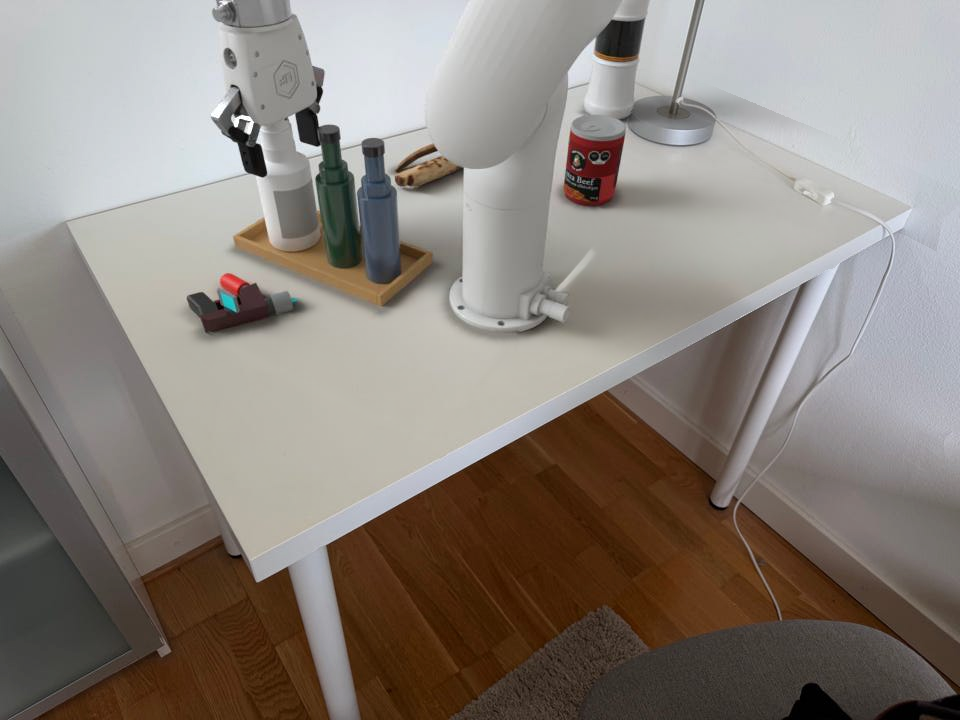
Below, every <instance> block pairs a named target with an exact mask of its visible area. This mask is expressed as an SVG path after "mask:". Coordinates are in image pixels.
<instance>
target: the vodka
mask: <svg viewBox="0 0 960 720" xmlns="http://www.w3.org/2000/svg"><path fill="white" fill-rule="evenodd" d="M650 1H651V0H622V2H621V4H620V6H619V8H618V10H617V11H616V13H615V15H614V16H613V18H612V19H611V21H610V22H609V24H608V25H607V26H606V27H605V28H604V29H603V31H602V32H601V33H600V34H599V35H598V36H597V37H596V38H595V39H594V40H595V41H594V47H593V54H592V55H591V59H592V62H591V71H590V76H589V80H588V86H587V89H586V93H585V95H584V99H583V108H584V111H585V112H586V113H587V115H605V116H610V117H613V118H616V119H618V120H620V121H621V120H623V119H626V118H629V116H631V114H632V113H633V111H632V112H631V110H632V108H633V109H634V107H633V106H635V87H636V86H635V84H636V77H637V76H636V75H637V70H638V65H639V63H640V52H641V47H642V41H643V35H644V30H645V24H646V18H647V16H648V13H649V11H648V9H649V6H650V3H651V2H650Z"/></svg>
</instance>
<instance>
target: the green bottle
mask: <svg viewBox="0 0 960 720" xmlns="http://www.w3.org/2000/svg"><path fill="white" fill-rule="evenodd" d="M317 131H318V139H319V141H320V143H321V145H320V149H321V151H320V152H321V156H322V157H321V158H322V160H321V162H319V163H318V173H317V174H316V175H315V177H314V181H315V188H316V189H315V190H316V194H317V202H318V207H319V208H318V209H319V211H320V215H321V222H322V229H323V236H324V242H325V249H326V256H327V261H328V263H329V264H330V265H331V266H333V267H336V268H350V267H354V266H356V265H358V264H359V263H360V262H361V261H362V258H363V256H362V246H361V237H360V228H359V226H360V217H359V208H358V199H357V191H356V190H357V189H356V182H355V176H354V173H353V172H352V171H350V170H349V164H348V162H347V161H346V160H345V159H343V158H342V150H341V139H342V138H341V136H342V135H341V130H340V126H338V125H336V124H322V125H319V128H318V129H317Z"/></svg>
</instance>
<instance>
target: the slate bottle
mask: <svg viewBox="0 0 960 720" xmlns="http://www.w3.org/2000/svg"><path fill="white" fill-rule="evenodd" d="M360 143H361V153H362V155H363V161H364V171H365V174H363V176H362V177H361V179H360V185H361V186H360V187H359V188H358V189H357V191H356V199H357V208H358V218H359V226H361V236H362V245H363V255H364V264H365V274H366V277H367V279H368V280H369V281H371V282H373V283H377V284H388V283H391V282H392V281H394V280H395V279H396V278H397V277H398V276H400V275H401V274H402V267H401V251H400V241H401V237H400V235H401V234H400V220H399V204H398V203H399V202H398V191H397V189H396V187H395V186H393V185H392V178H391V176H390V175H389V174H387V173H386V167H385V153H386V149H385V141H384V140H383V139H381V138H379V137H369V138H365V139H363V140H362V141H361V142H360Z"/></svg>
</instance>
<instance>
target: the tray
mask: <svg viewBox="0 0 960 720" xmlns="http://www.w3.org/2000/svg"><path fill="white" fill-rule="evenodd" d="M317 215H318V221H319V228H320V234H321V236H320V239H319V241H318V242H317V243H316V244H315V245H314V246H312V247H310V248H308V249H305V250H302V251H295V252H289V251H282V250H278V249H277V248H275V247H273V245H272V244H271V243H270V241H269V237H268V232H267V227H266V222H265V218H264V217H262V218H260V219H259V220H257V221H256V222H254V223H252V224H251V225H248V226H247V227H246V228H244V229H243V230H240V231H239V232H238V233H236V234H234V235H233V236H232V239H233V243H234V246H235V248H238V249H240V250H243V251H246V252H248V253H250V254H253V255H255V256H258V257H261V258H262V259H264V260H267V261H270V262H272V263H274V264H277V265H280V266H282V267H284V268H287V269H289V270H292V271H294V272H296V273H299V274H301V275H304V276H306V277H308V278H311V279H313V280H316V281H318V282H320V283H323V284H325V285H328V286H330V287H332V288H335V289H338V290H339V291H343V292H345V293H347V294H350V295H352V296H355V297H357V298H359V299H362V300H364V301H366V302H369V303H371V304H373V305H376V306H379V307H383V306H384V305H385V304H386V303H388V302H389V301H390V300H391V299H392V298H394V297H395V296H396V295H397V294H398V293H399V292H400V291H402V290H403V289H404V288H405V287H406V286H408V285H409V284H410V283H411V282H412V281H413V280H414V279H415V278H417V277H418V276H419V275H420V274H421V273H422V272H424V271H425V270H426V269H427V268H429V266H430V265H432V264H433V263H434V258H433V252H432V251H429V250H428V249H425V248H421V247H420V246H419V247H418V246H416V245H413V244H410V243H408V242H405V241H402V240H400V251H401V267H402V274H401V275H400V276H398V277H397V278H396V279H395V280H394V281H392V282H391V283H388V284H377V283H373V282H371V281H369V280H368V279H367V277H366V274H365V264H364V255H363V245H362V236H361V226H360V225H359V228H360V237H361V246H362V256H363V258H362V261H361V262H360V263H359V264H358V265H356V266H354V267H350V268H336V267H333V266H331V265H330V264H329V263H328V261H327V256H326V249H325V242H324V236H323V229H322V222H321V215H320V210H317Z"/></svg>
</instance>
